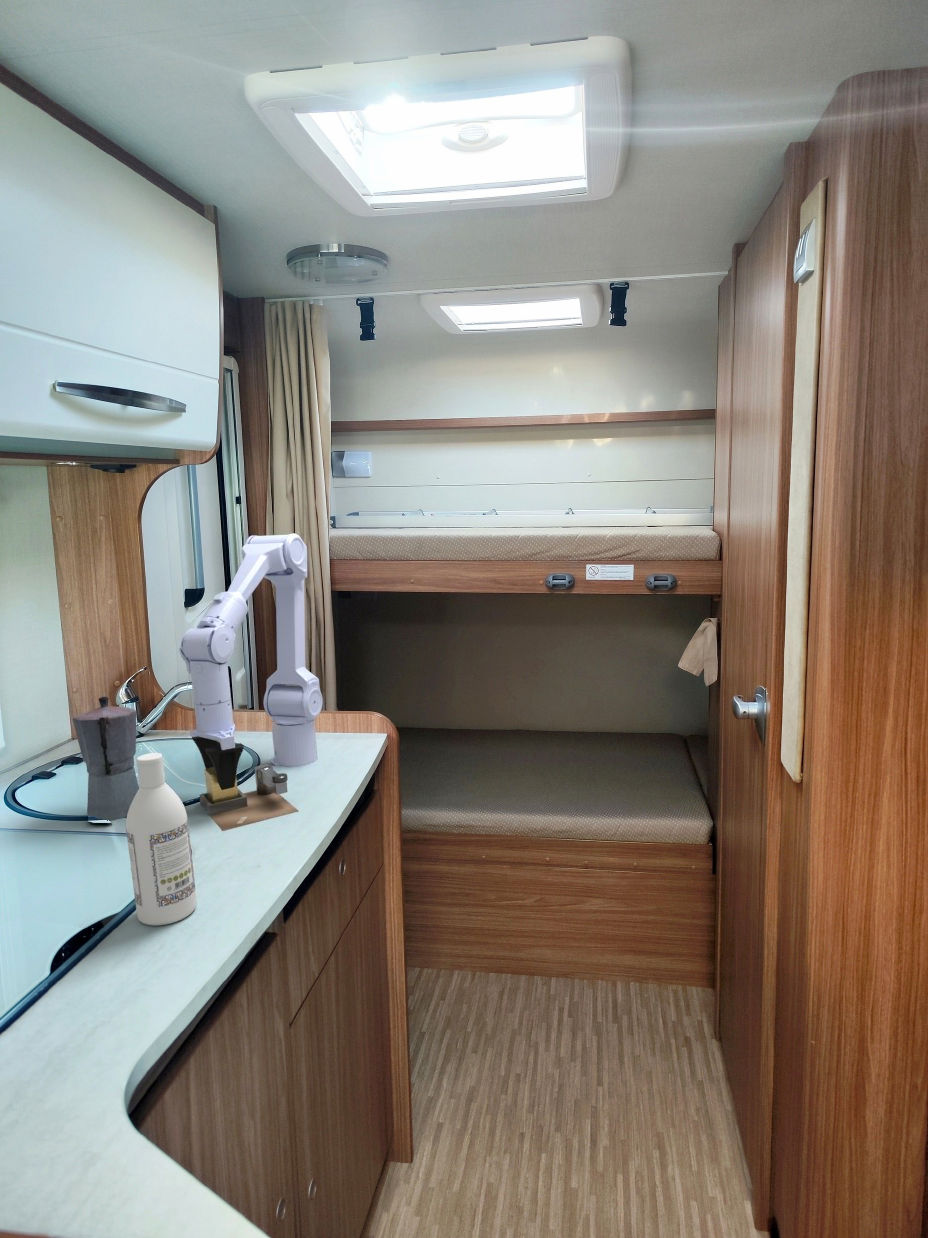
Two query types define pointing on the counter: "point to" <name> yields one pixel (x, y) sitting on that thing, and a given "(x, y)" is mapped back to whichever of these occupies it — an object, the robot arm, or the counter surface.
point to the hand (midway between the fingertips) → (221, 781)
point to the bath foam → (159, 848)
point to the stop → (218, 788)
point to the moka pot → (108, 758)
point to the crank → (270, 780)
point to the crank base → (246, 809)
